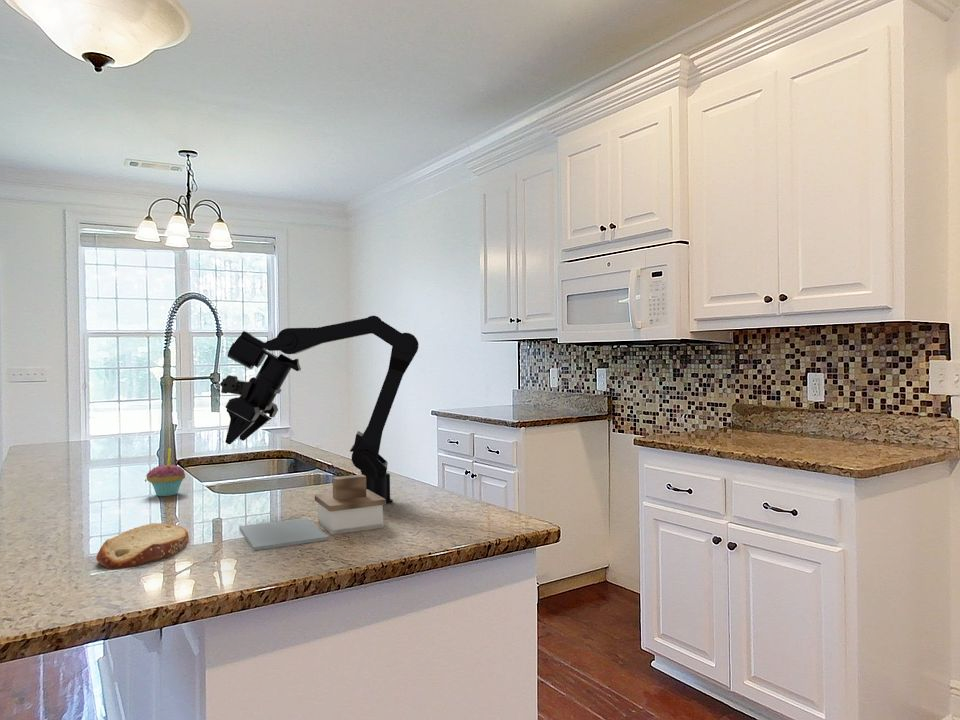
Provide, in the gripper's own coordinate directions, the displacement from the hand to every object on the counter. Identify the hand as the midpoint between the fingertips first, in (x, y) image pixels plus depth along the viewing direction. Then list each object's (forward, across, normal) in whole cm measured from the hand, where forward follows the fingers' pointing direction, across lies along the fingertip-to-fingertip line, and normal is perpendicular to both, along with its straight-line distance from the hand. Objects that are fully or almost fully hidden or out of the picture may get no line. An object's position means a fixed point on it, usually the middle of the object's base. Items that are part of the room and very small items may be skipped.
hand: (234, 441), depth 149 cm
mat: (+6, +22, +22) cm, 32 cm away
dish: (0, +17, +32) cm, 36 cm away
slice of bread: (+17, +30, +3) cm, 35 cm away
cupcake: (+23, -16, -12) cm, 30 cm away
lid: (-4, +17, +30) cm, 34 cm away
